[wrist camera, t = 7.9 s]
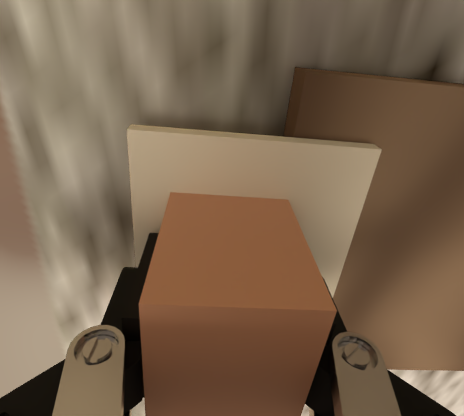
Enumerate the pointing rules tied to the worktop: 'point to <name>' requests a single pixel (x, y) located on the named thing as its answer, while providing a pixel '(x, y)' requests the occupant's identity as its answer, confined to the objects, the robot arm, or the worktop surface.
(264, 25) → the worktop surface
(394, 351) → the ticket board
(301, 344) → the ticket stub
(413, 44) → the worktop surface
